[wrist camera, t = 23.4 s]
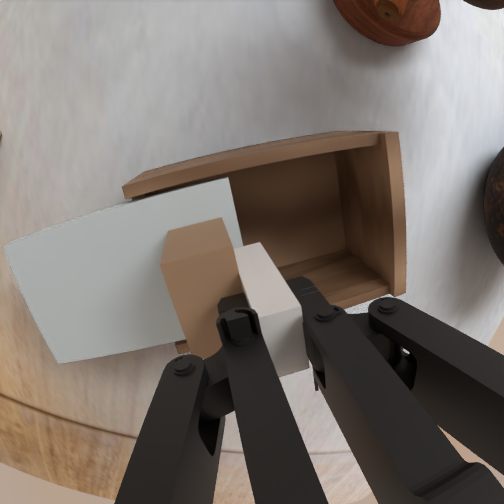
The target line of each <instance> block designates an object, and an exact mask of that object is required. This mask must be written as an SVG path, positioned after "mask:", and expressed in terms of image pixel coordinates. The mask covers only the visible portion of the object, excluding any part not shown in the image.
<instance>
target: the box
mask: <svg viewBox="0 0 504 504" xmlns="http://www.w3.org/2000/svg"><path fill="white" fill-rule="evenodd" d="M224 176H227V177H228V179H229V183H230V188H231V193H232V197H233V202H234V206H235V211H236V215H237V220H238V224H239V229H240V234H241V238H242V243H243V246H246V245H250V244H254V243H258V242H260V243H261V245H262V246H263V248H264V249H265V251H266V252H267V254H268V255H269V257H270V258H271V260H272V262H273V263H274V265H275V266H276V268H277V269H278V271H279V272H280V274H281V275H282V277H283V279H284V280H289V279H292V278H296V277H300V276H303V277H305V278H307V279H310V280H311V281H312V282H313V284H314V285H315V287H317V289H318V290H319V291H320V292H321V294H322V295H323V296H324V297H325V299H326V300H327V301H328V302H329V304H330V305H336V306H339V307H341V308H342V309H346V308H349V307H352V306H355V305H358V304H361V303H364V302H367V301H370V300H373V299H376V298H378V297H381V296H384V295H387V294H391V295H392V296H394V297H396V296H399V295H401V294H404V293H406V216H405V197H404V183H403V171H402V161H401V152H400V143H399V135H398V132H386V131H335V132H328V133H321V134H314V135H308V136H302V137H296V138H290V139H284V140H278V141H273V142H268V143H262V144H257V145H252V146H247V147H243V148H238V149H233V150H229V151H224V152H220V153H215V154H211V155H207V156H202V157H198V158H194V159H190V160H186V161H182V162H178V163H175V164H171V165H167V166H163V167H160V168H156V169H152V170H149V171H145V172H143V173H142V174H140V175H139V176H137V177H136V178H134V179H133V180H131V181H130V182H128V183H127V184H125V185H124V186H122V189H123V193H124V196H125V199H128V198H131V197H132V200H135V199H139V198H142V197H146V196H150V195H153V194H157V193H160V192H164V191H168V190H172V189H175V188H179V187H183V186H187V185H191V184H195V183H199V182H203V181H207V180H211V179H215V178H219V177H224ZM175 346H176V348H177V351H178V353H179V354H181V353H185V352H190V348H189V346H188V343H187V341H186V339H185V340H180V341H176V343H175Z"/></svg>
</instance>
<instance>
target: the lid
mask: <svg viewBox="0 0 504 504" xmlns="http://www.w3.org/2000/svg"><path fill="white" fill-rule="evenodd" d="M242 246H243V243H242V238H241V234H240V229H239V224H238V220H237V215H236V211H235V206H234V202H233V197H232V193H231V188H230V183H229V179H228V177H227V176H224V177H219V178H215V179H211V180H207V181H203V182H199V183H195V184H191V185H187V186H183V187H179V188H175V189H172V190H168V191H164V192H160V193H157V194H153V195H150V196H146V197H142V198H139V199H135V200H132V201H129V202H125V203H122V204H118V205H115V206H112V207H109V208H105V209H102V210H99V211H96V212H93V213H89V214H86V215H83V216H80V217H77V218H74V219H71V220H68V221H65V222H62V223H59V224H56V225H54V226H51V227H48V228H45V229H42V230H39V231H37V232H34V233H31V234H29V235H26V236H23V237H20V238H18V239H15V240H13V241H10V242H9V243H7V244H6V245H4V246H3V248H4V251H5V254H6V257H7V259H8V262H9V264H10V267H11V269H12V272H13V274H14V277H15V279H16V281H17V284H18V286H19V288H20V291H21V293H22V295H23V297H24V300H25V302H26V304H27V306H28V308H29V310H30V312H31V314H32V316H33V318H34V320H35V322H36V324H37V326H38V328H39V330H40V332H41V334H42V336H43V338H44V339H45V341H46V343H47V345H48V347H49V349H50V350H51V352H52V354H53V356H54V357H55V359H56V361H57V362H58V364H61V363H68V362H74V361H80V360H86V359H91V358H97V357H102V356H108V355H113V354H118V353H124V352H129V351H134V350H139V349H144V348H148V347H153V346H158V345H162V344H167V343H172V342H176V341H180V340H185V339H186V341H187V343H188V346H189V348H190V351H191V354H192V355H197V356H199V357H201V358H202V359H205V358H208V357H210V356H212V355H214V354H215V353H216V352H217V351H219V349H220V348H221V347H222V342H221V339H220V336H219V332H218V329H217V326H216V321H217V318H218V317H219V312H218V307H217V305H218V303H219V301H220V299H221V298H224V297H228V296H232V295H235V294H239V293H243V288H242V283H241V279H240V275H239V270H238V266H237V262H236V257H235V253H234V249H235V248H239V247H242Z"/></svg>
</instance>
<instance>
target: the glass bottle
mask: <svg viewBox="0 0 504 504" xmlns="http://www.w3.org/2000/svg"><path fill="white" fill-rule="evenodd" d="M484 218H485V225H486V230H487V234H488V237H489V240H490V243H491V245H492V248H493V250H494V251H495V253H496V255H497V257H498V258H499V260H500V261H501V263H502V264H503V265H504V147H503V149H502V150H501V151H500V152H499V154H498V155H497V157H496V158H495V160H494V162H493V164H492V166H491V169H490V171H489V174H488V178H487V182H486V186H485V193H484Z"/></svg>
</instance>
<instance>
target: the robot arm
mask: <svg viewBox="0 0 504 504" xmlns="http://www.w3.org/2000/svg"><path fill="white" fill-rule="evenodd" d="M234 253H235V257H236V262H237V266H238V270H239V275H240V279H241V283H242V288H243V293H239V294H235V295H232V296H228V297H224V298H221V299H220V301H219V303H218V305H217V307H218V312H219V317H218V318H217V321H216V326H217V329H218V332H219V336H220V339H221V342H222V347H221V348H220V349H219V351H217V352H216V353H215V354H214V355H212V356H210V357H208V358H206V359H204V360H202V358H201V357H199V356H197V355H189V354H188V355H183V356H179V357H177V358H175V359H173V360H172V361H170V362H169V363H168V364H167V366H166V367H165V369H164V371H163V373H162V376H161V378H160V381H159V384H158V386H157V389H156V391H155V394H154V396H153V399H152V402H151V404H150V407H149V409H148V412H147V415H146V417H145V420H144V423H143V425H142V428H141V431H140V433H139V436H138V439H137V441H136V444H135V447H134V450H133V452H132V455H131V458H130V461H129V463H128V466H127V469H126V472H125V475H124V477H123V480H122V483H121V486H120V489H119V492H118V495H117V497H116V500H115V503H114V504H213V498H214V491H215V485H216V478H217V472H218V465H219V459H220V452H221V446H222V439H223V433H224V426H225V415H227V414H229V413H231V412H233V411H234V410H235V414H236V418H237V423H238V428H239V433H240V438H241V442H242V447H243V452H244V456H245V461H246V465H247V470H248V474H249V478H250V483H251V487H252V491H253V495H254V500H255V504H328V501H327V499H326V496H325V494H324V491H323V489H322V486H321V484H320V482H319V479H318V477H317V474H316V472H315V469H314V467H313V464H312V462H311V459H310V457H309V454H308V452H307V449H306V447H305V444H304V441H303V439H302V436H301V434H300V431H299V429H298V426H297V424H296V421H295V419H294V416H293V413H292V411H291V408H290V406H289V403H288V401H287V398H286V395H285V393H284V390H283V388H282V385H281V382H280V380H279V377H281V376H285V375H288V374H291V373H295V372H298V371H301V370H304V369H308V368H309V360H310V362H311V364H312V367H313V375H314V384H315V391H318V386H319V388H320V390H321V392H322V394H323V396H324V398H325V400H326V402H327V403H328V405H329V407H330V409H331V411H332V413H333V415H334V417H335V419H336V421H337V423H338V425H339V427H340V429H341V431H342V433H343V435H344V437H345V439H346V441H347V443H348V445H349V447H350V449H351V451H352V453H353V455H354V457H355V458H356V460H357V462H358V464H359V466H360V468H361V470H362V472H363V474H364V476H365V478H366V480H367V482H368V484H369V486H370V488H371V490H372V492H373V494H374V496H375V497H376V499H377V502H378V504H504V488H503V487H502V485H501V484H500V483H499V481H498V480H497V479H496V477H495V476H494V475H493V474H492V472H491V471H490V470H489V469H488V468H487V467H486V466H485V465H483V464H481V463H478V462H474V463H468V462H466V461H465V460H464V459H463V458H462V457H461V456H460V454H459V453H458V452H457V450H456V449H455V448H454V446H453V445H452V444H451V443H450V441H449V440H448V439H447V437H446V436H445V435H444V433H443V432H442V431H441V430H440V428H439V427H441V428H442V429H443V430H444V431H446V432H447V433H448V434H450V435H451V436H452V437H454V438H455V439H456V440H458V441H459V442H460V443H462V444H463V445H464V446H466V447H467V448H468V449H470V450H471V451H472V452H473V453H475V454H476V455H477V456H479V457H480V458H481V459H483V460H484V461H485V462H487V463H488V464H489V465H491V466H492V467H493V468H495V469H496V470H497V471H499V472H500V473H501V474H503V475H504V355H502V354H500V353H499V352H497V351H495V350H493V349H491V348H489V347H488V346H486V345H484V344H482V343H480V342H479V341H477V340H475V339H473V338H471V337H469V336H468V335H466V334H464V333H462V332H460V331H458V330H456V329H455V328H453V327H451V326H449V325H447V324H445V323H443V322H442V321H440V320H438V319H436V318H434V317H432V316H430V315H428V314H426V313H425V312H423V311H421V310H419V309H417V308H415V307H413V306H411V305H409V304H408V303H406V302H404V301H402V300H400V299H397V298H391V297H385V298H379V299H377V300H374V301H373V302H372V303H370V305H369V307H368V313H360V314H347V313H346V312H345V311H344V309H342V308H341V307H339V306H336V305H330V304H329V302H328V301H327V300H326V299H325V297H324V296H323V295H322V294H321V292H320V291H319V290H318V289H317V287H315V285H314V284H313V282H312V281H311V280H310V279H307V278H305V277H303V276H300V277H296V278H292V279H289V280H284V279H283V277H282V275H281V274H280V272H279V271H278V269H277V268H276V266H275V265H274V263H273V262H272V260H271V258H270V257H269V255H268V254H267V252H266V251H265V249H264V248H263V246H262V245H261V243H260V242H258V243H254V244H250V245H246V246H242V247H239V248H235V249H234ZM403 348H404V349H406V350H407V351H409V352H410V354H407V353H405V352H404V351H403ZM308 358H309V360H308ZM437 425H438V426H439V427H438V426H437Z"/></svg>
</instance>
